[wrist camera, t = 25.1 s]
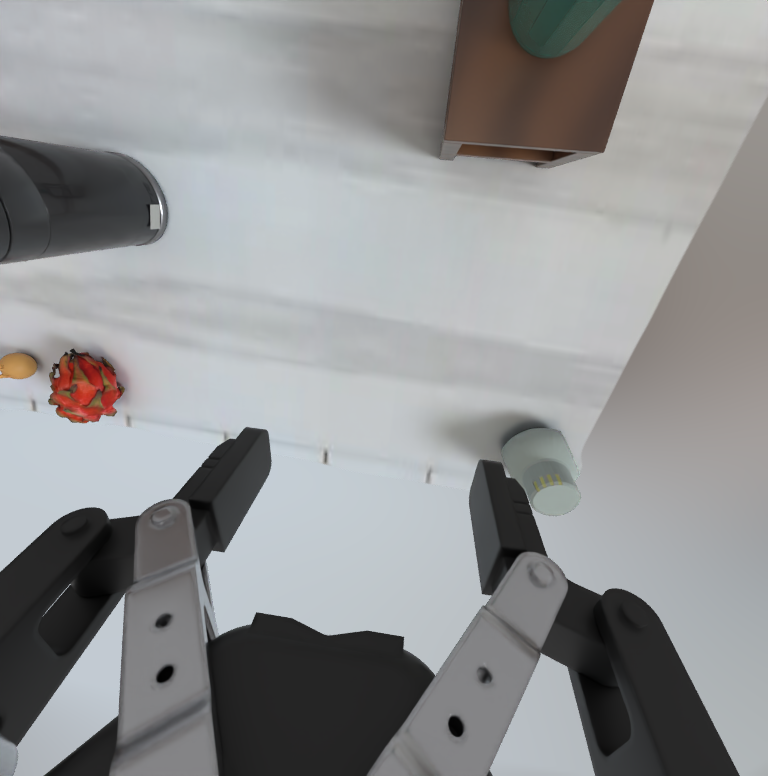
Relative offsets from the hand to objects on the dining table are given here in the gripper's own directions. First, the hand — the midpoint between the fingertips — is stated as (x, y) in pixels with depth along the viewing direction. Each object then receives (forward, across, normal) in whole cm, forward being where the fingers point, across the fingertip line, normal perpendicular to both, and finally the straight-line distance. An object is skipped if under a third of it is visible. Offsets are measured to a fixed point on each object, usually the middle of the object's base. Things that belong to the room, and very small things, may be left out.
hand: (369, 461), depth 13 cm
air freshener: (+32, -21, +22) cm, 44 cm away
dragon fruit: (+32, +46, +19) cm, 59 cm away
